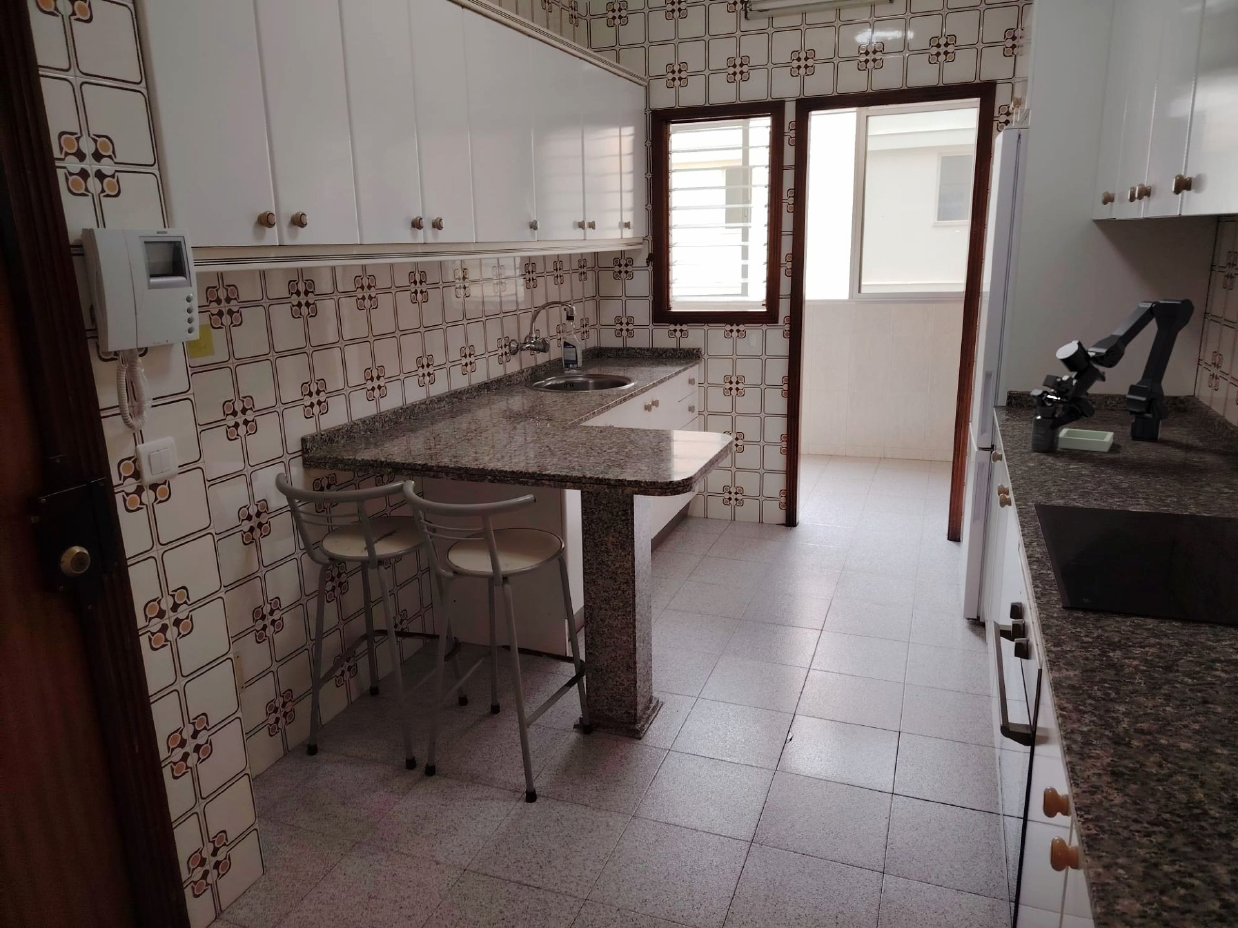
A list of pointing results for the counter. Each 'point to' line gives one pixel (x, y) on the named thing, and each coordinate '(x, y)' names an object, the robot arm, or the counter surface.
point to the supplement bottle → (1045, 430)
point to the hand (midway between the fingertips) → (1041, 426)
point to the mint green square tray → (1085, 440)
